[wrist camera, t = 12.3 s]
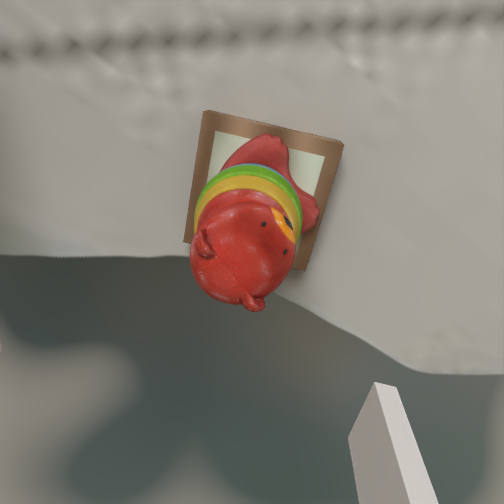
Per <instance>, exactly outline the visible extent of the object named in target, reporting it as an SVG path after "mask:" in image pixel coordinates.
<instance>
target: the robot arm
mask: <svg viewBox="0 0 504 504" xmlns="http://www.w3.org/2000/svg"><path fill="white" fill-rule="evenodd" d="M0 355H1V338H0ZM348 441H349V446H350V452H351V458H352V463H353V469H354V475H355V481H356V487H357V493H358V498H359V504H438V501H437V499H436V496H435V493H434V490H433V487H432V485H431V482H430V479H429V477H428V474H427V471H426V468H425V465H424V463H423V460H422V457H421V454H420V452H419V449H418V446H417V443H416V441H415V438H414V435H413V433H412V430H411V427H410V424H409V421H408V419H407V416H406V413H405V410H404V408H403V405H402V402H401V399H400V397H399V394H398V391H397V388H396V387H393V386H389V385H385V384H381V383H376V382H374V384H373V386H372V388H371V390H370V392H369V394H368V397H367V399H366V401H365V403H364V405H363V407H362V409H361V411H360V413H359V416H358V418H357V420H356V422H355V424H354V426H353V428H352V431H351V433H350V435H349V437H348Z"/></svg>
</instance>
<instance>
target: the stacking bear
mask: <svg viewBox="0 0 504 504" xmlns="http://www.w3.org/2000/svg"><path fill="white" fill-rule="evenodd" d="M319 213H320V210H319V207H318V206H317V205H316V199H315V198H314V197H313V196H312V195H310V194H308V193H307V192H305V191H303V190H302V189H301V188H300V187H298V186H297V184H296V183H295V182H294V180H293V178H292V176H291V174H290V171H289V150H288V147H287V146H286V145H285V144H283V141H282V138H281V137H279V136H272V135H271V134H269V133H265V134H261V135H258V136H256V137H254V138H253V139H251V140H249V141H248V142H246V143H245V144H243V145H242V146H241V147H240V148H238V149H237V150H236V151H235V152H234V153H233V154H232V155H231V156H230V157H229V159H228V160H227V161H226V162H225V164H224V165H223V167H222V168H221V170H220V172H219V173H218V174H217V175H215V176H214V177H213V178H212V179H211V180H210V181H209V182H208V183H207V184H206V186H205V187H204V188H203V190H202V192H201V194H200V196H199V198H198V201H197V204H196V208H195V214H194V237H193V239H192V243H191V247H190V264H191V269H192V273H193V276H194V278H195V280H196V282H197V283H198V285H199V286H200V287H201V289H202V290H203V291H204V292H205V293H206V294H208V295H209V296H211V297H212V298H214V299H216V300H218V301H221V302H224V303H228V304H235V305H237V304H238V305H241V304H243V306H244V307H245V308H246V309H248V310H249V311H252V312H258V311H261V310H263V309H264V308H265V302H264V299H263V298H264V297H265V296H267V295H268V294H269V293H271V292H272V291H274V290H275V289H276V288H277V287H278V286H279V285H280V284H281V283H282V281H283V280H284V279H285V277H286V276H287V274H288V272H289V271H290V269H291V266H292V264H293V261H294V257H295V252H296V244H297V242H298V239H299V236H300V235H301V234H303V233H305V232H306V231H308V230H310V229H311V228H312V227H313V226H314V225H315V224H316V222H317V217H318V215H319Z"/></svg>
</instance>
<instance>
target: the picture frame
mask: <svg viewBox="0 0 504 504" xmlns="http://www.w3.org/2000/svg"><path fill="white" fill-rule="evenodd" d="M265 133H269V134H271V135H272V136H279V137H281V138H282V141H283V144H285V145H286V146H287V147H288V150H289V171H290V174H291V176H292V178H293V180H294V182H295V183H296V184H297V186H298V187H300V188H301V189H302V190H303V191H305V192H307V193H308V194H310V195H312V196H313V197H314V198H315V199H316V205H317V206H318V207H319V210H320V213H319V215H318V217H317V222H316V224H315V225H314V226H313V227H312V228H311V229H310V230H308V231H306V232H305V233H303V234H301V235H300V236H299V239H298V242H297V244H296V252H295V257H294V261H293V264H292V266H291V268H294V269H298V270H303V271H306V268H307V264H308V261H309V258H310V255H311V251H312V248H313V245H314V242H315V238H316V235H317V232H318V229H319V225H320V222H321V219H322V216H323V212H324V209H325V206H326V203H327V199H328V196H329V193H330V190H331V186H332V183H333V180H334V177H335V173H336V170H337V167H338V164H339V160H340V157H341V154H342V151H343V147H344V144H343V143H342V142H341V141H338V140H334V139H329V138H325V137H321V136H317V135H313V134H308V133H304V132H300V131H296V130H291V129H287V128H283V127H279V126H275V125H270V124H266V123H262V122H258V121H253V120H249V119H245V118H241V117H236V116H232V115H228V114H224V113H220V112H215V111H211V110H207V111H203V116H202V123H201V129H200V136H199V142H198V149H197V155H196V162H195V169H194V175H193V182H192V188H191V195H190V201H189V208H188V215H187V221H186V228H185V234H184V241H183V242H185V243H189V244H191V243H192V239H193V237H194V214H195V208H196V204H197V201H198V198H199V196H200V194H201V192H202V190H203V188H204V187H205V186H206V184H207V183H208V182H209V181H210V180H211V179H212V178H213V177H214V176H215V175H217V174H218V173H219V172H220V170H221V168H222V167H223V165H224V164H225V162H226V161H227V160H228V159H229V157H230V156H231V155H232V154H233V153H234V152H235V151H236V150H237V149H238V148H240V147H241V146H242V145H243V144H245V143H246V142H248V141H249V140H251V139H253V138H254V137H256V136H258V135H261V134H265Z"/></svg>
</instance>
